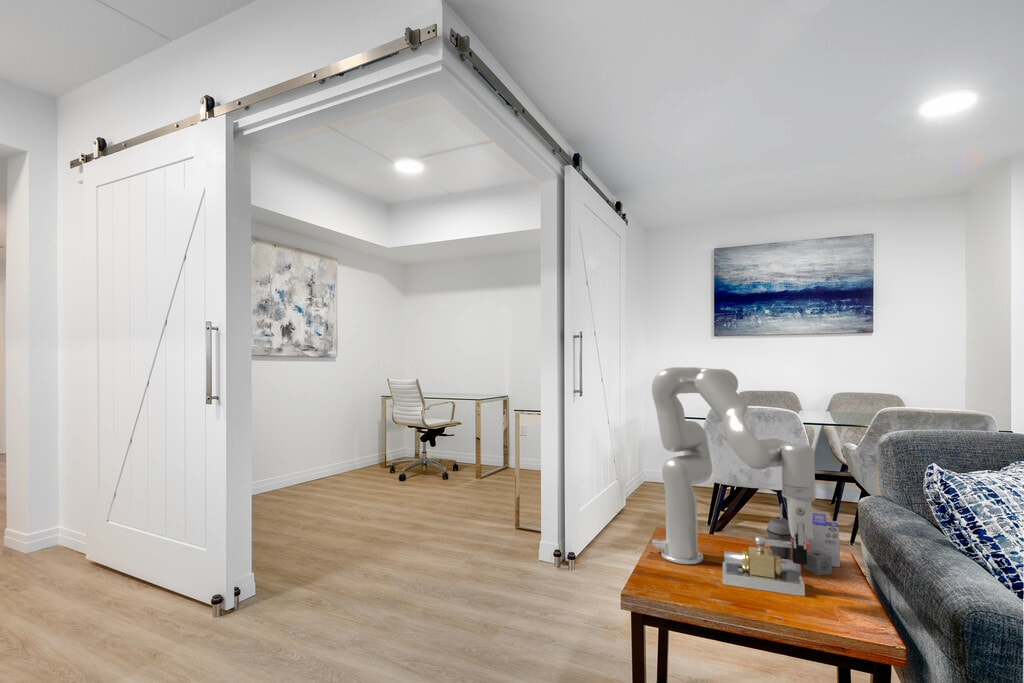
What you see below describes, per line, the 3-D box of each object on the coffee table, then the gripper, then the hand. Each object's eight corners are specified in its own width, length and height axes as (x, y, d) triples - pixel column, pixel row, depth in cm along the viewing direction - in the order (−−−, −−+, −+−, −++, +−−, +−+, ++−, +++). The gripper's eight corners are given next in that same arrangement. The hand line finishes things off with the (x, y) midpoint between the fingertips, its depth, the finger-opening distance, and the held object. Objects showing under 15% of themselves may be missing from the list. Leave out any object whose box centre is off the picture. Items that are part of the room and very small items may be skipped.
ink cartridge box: (838, 561, 159) (837, 514, 160) (841, 568, 154) (839, 519, 155) (801, 556, 163) (800, 510, 164) (803, 562, 158) (802, 515, 159)
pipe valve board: (722, 584, 143) (722, 544, 144) (722, 572, 151) (722, 534, 152) (804, 596, 136) (803, 554, 136) (800, 583, 144) (799, 543, 144)
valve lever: (755, 544, 143) (755, 538, 143) (754, 541, 146) (754, 534, 146) (810, 551, 138) (810, 544, 138) (808, 547, 141) (808, 540, 141)
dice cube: (804, 568, 154) (803, 551, 154) (818, 567, 155) (818, 550, 155) (817, 575, 149) (816, 557, 149) (831, 574, 150) (831, 556, 150)
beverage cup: (788, 566, 156) (787, 499, 156) (799, 576, 148) (798, 506, 149) (763, 565, 156) (762, 498, 157) (773, 575, 149) (772, 505, 150)
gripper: (818, 500, 126) (820, 576, 125) (811, 486, 139) (812, 555, 139) (784, 496, 129) (785, 571, 128) (780, 483, 142) (781, 551, 142)
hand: (799, 562), depth 133 cm, fingers closed
